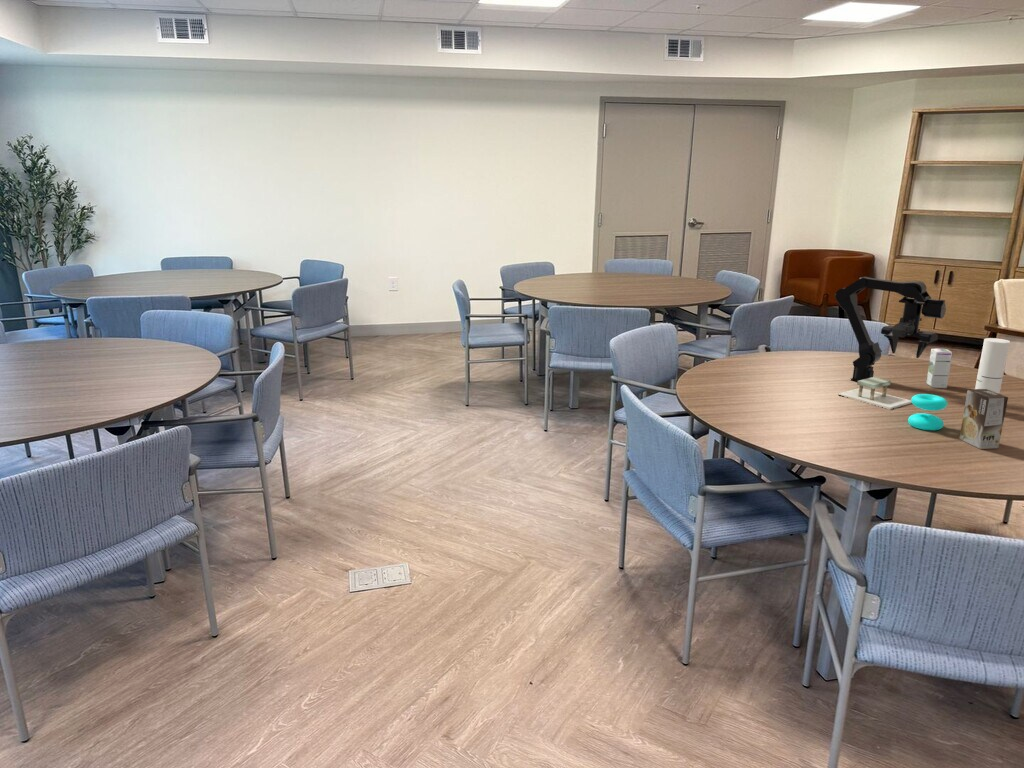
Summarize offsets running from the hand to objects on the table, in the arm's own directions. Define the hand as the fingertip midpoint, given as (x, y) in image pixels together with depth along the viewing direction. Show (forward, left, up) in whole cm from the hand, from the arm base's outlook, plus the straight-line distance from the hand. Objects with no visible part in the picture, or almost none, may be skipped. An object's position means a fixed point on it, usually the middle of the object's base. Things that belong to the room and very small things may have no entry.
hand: (905, 355), depth 258 cm
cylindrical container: (+31, -3, -13) cm, 34 cm away
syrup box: (+6, +14, -13) cm, 20 cm away
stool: (+2, -22, -12) cm, 25 cm away
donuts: (+29, -36, -13) cm, 48 cm away
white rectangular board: (+3, -22, -13) cm, 26 cm away
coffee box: (+46, -38, -13) cm, 61 cm away
